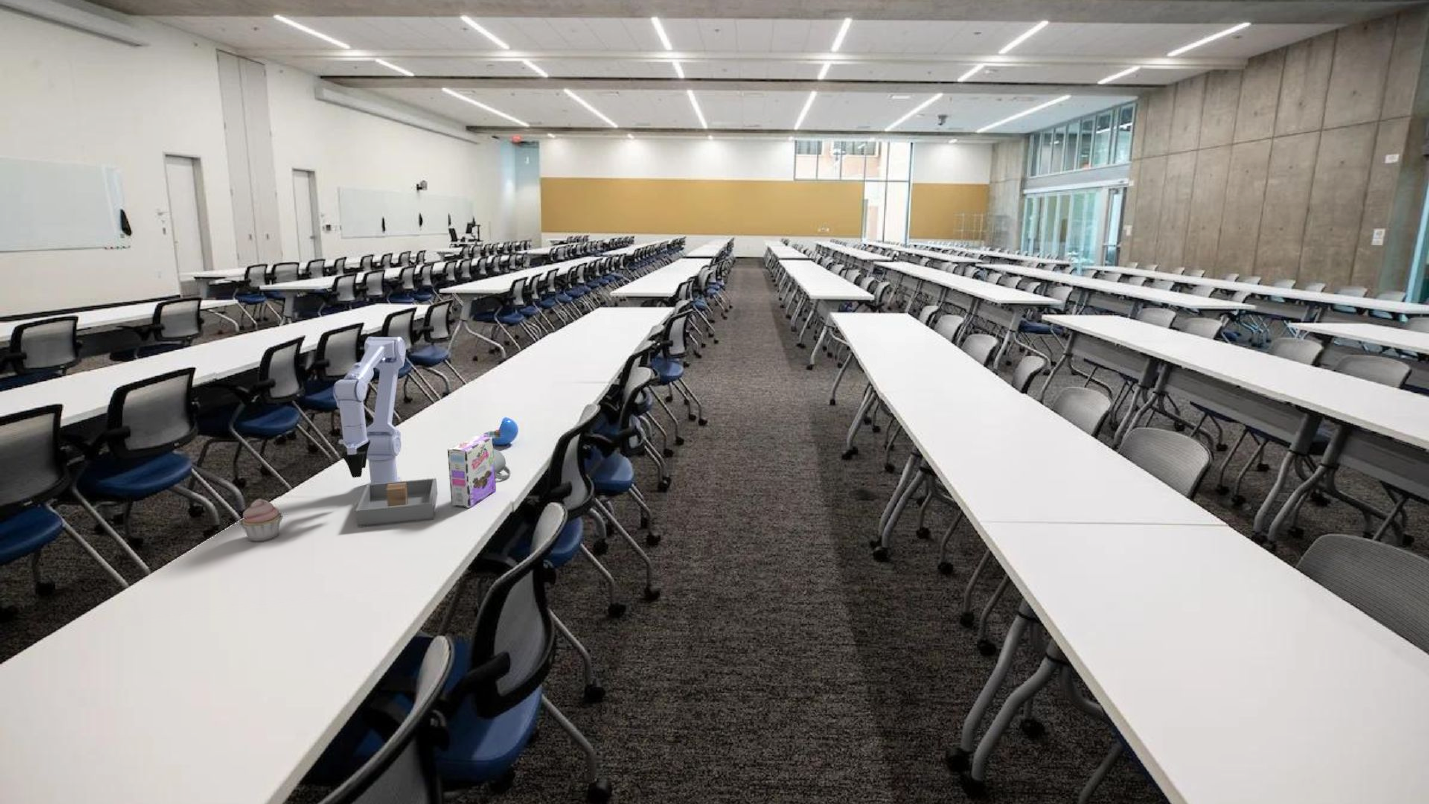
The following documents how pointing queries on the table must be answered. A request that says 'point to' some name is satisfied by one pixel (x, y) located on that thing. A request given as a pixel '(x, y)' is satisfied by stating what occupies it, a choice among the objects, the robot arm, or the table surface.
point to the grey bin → (418, 508)
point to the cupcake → (261, 521)
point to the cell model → (504, 432)
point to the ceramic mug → (500, 465)
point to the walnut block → (397, 494)
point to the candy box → (471, 471)
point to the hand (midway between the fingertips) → (359, 472)
